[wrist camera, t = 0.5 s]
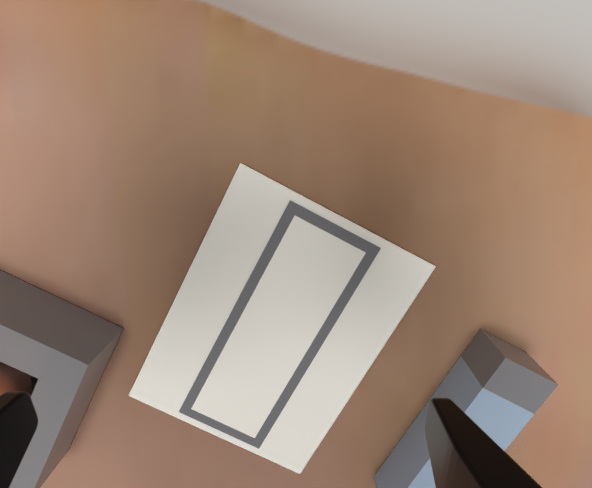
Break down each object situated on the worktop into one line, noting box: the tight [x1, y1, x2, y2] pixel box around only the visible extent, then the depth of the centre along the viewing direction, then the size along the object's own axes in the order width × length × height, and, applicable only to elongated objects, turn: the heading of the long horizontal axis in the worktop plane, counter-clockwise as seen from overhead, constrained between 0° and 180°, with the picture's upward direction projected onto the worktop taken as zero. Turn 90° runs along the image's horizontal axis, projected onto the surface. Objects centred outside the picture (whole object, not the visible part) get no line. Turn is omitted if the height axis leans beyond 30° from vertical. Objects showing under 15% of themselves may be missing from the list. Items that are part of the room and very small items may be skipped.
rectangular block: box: [374, 329, 558, 488], centre depth 24 cm, size 12×3×3 cm, turn 152°
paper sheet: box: [129, 163, 436, 474], centre depth 24 cm, size 16×12×1 cm
